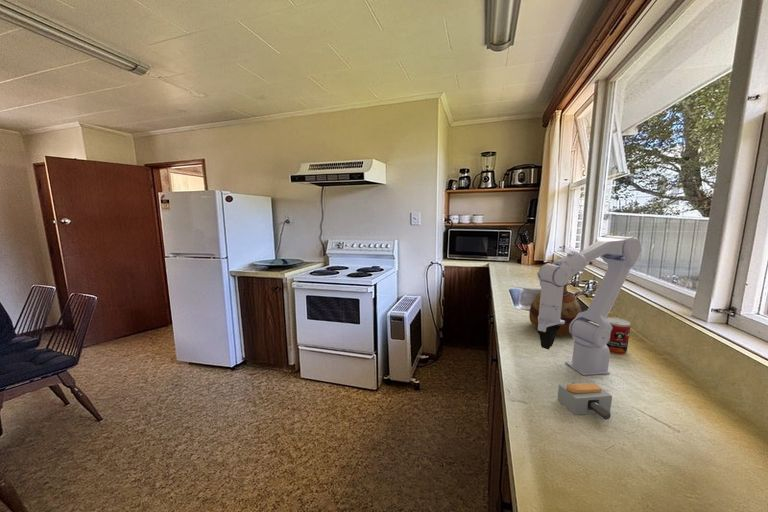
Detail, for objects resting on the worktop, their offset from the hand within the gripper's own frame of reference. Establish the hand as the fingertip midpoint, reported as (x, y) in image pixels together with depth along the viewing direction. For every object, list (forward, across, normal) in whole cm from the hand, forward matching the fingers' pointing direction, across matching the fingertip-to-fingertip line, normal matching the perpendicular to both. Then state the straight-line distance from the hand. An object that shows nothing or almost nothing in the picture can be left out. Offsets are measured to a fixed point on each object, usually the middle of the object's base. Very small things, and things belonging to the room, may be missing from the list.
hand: (546, 346), depth 89 cm
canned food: (+10, +37, -13) cm, 41 cm away
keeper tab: (+5, -9, -11) cm, 15 cm away
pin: (+9, -9, -13) cm, 18 cm away
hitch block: (+10, -8, -12) cm, 17 cm away
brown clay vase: (+10, +42, +8) cm, 44 cm away
